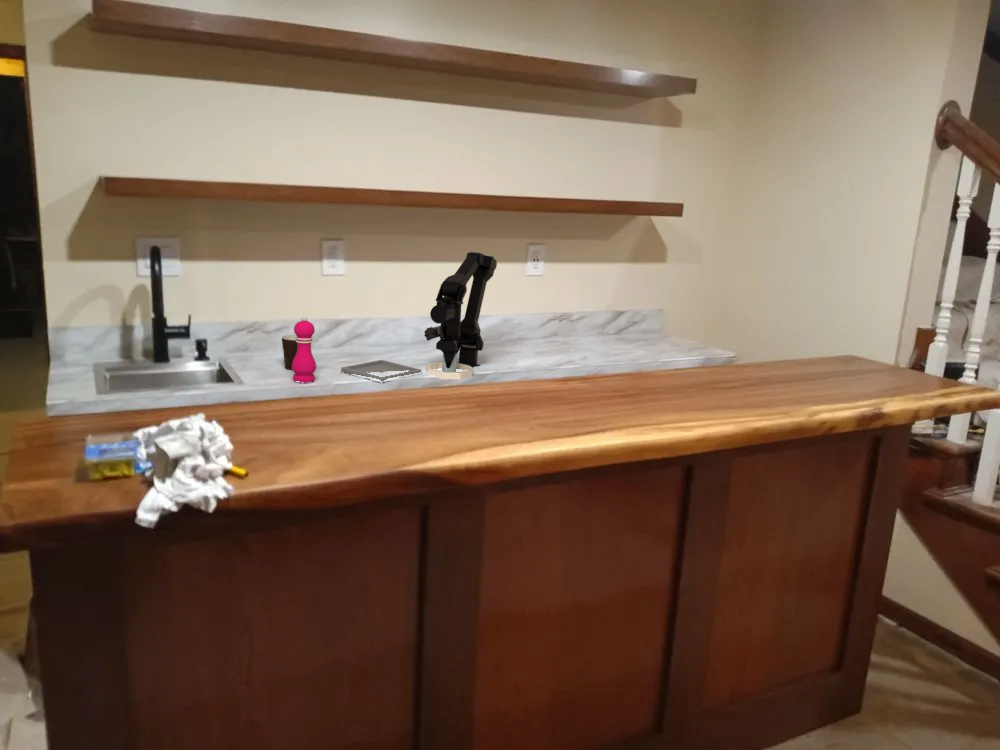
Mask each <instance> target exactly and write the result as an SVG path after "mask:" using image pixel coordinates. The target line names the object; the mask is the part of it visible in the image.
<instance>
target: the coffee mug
mask: <svg viewBox="0 0 1000 750" xmlns="http://www.w3.org/2000/svg"><path fill="white" fill-rule="evenodd" d="M296 337H297V335H296V334H289V335H288V334H287V335H282V336H281V344H282V346H281V347H282V353H283V361H284V369H286V370H288V371H293V370H292V362H293V360H294V358H295V356H296V353H297V342H296Z"/></svg>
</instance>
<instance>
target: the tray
mask: <svg viewBox="0 0 1000 750" xmlns="http://www.w3.org/2000/svg"><path fill="white" fill-rule="evenodd" d="M340 369H341V370H340V373H342V372H344V373H343V374H345V373H349V374H356V375H361V376H366V377H372V378H376V379H379V380H381V381H384V380H386V379H388V378H393V377H397V376H404V375H409V374H414V373H419V372H421V373H422V369H421V368H416V367H412V366H408V365H404V364H400V363H395V362H392V361H388V360H384V359H378V360H372V361H367V362H363V363H357V364H351V365H348V366H342V367H341V368H340ZM404 370H405V371H406V370H409V371H408V372H404V373H399V374H395V375H390V376H385V377H379V376H375V375H371V374H368V373H370V372H380V373H381V372H382V373H383V372H385V371H386V372H387V371H404ZM367 372H368V373H367ZM349 374H348V375H349Z"/></svg>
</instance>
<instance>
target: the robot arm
mask: <svg viewBox="0 0 1000 750" xmlns="http://www.w3.org/2000/svg"><path fill="white" fill-rule="evenodd" d="M497 264H498V262H497V260H496V259H495V258H494V256H493V255H486V254H484V253H482V252H475V251H469V252H467V254H466V256H465V259H464V260H463V262H462V263H461V264H460V266H459V267H458V268H457V270H456V271H455V273H454V274H451V275H448V276H447V277H446V278H444V280H443V282H442V283H441V284H440V286H439V287H440V288H439V290H438V292H437V295H436V299H435V302H436V305H434V306H433V307H432V308H431V310H430V313H429V315H430V319H431V320H432V321H433V323H435V324H437V325H436V326H434V327H433V326H430V327H427V328H426V329H425V330H424V331H423V332H424V337H425V338H426V341H427V342H429V341H431V340H433V339H437V338H439V340H438V341H437V342H435V343H436V344H435V349H436V350H439V351H441V352H442V355H443V354H444V358H445V363H446V368H450V366H451V364H452V362H453V359H454V357H455V354H456V353H457V354H458V353H459V354H458V363H460V364H465V365H469V366H471V367H472V368H475V366H476V367H479V366H481V363H478V355H479V351H483V349H484V341H483V338H482V336H481V332H482V330H481V328H480V325H479V319H480V314H481V309H482V305H483V300H484V296H485V291H486V288H487V283H488V281H490V280H491V279H492V278H493V277H494V274H495V270H496V269H497ZM471 277H472V284H471V286H470V287H471V288H470V292H469V297H468V300H467V304H466V311H465V314H464V318H463V319H462V305H464V298H465V296H466V293H467V291H468V289H467V288H468V287H467V284H468V283H469V281H470V279H471ZM461 319H462V320H461ZM438 324H440V325H438Z"/></svg>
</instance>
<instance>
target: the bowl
mask: <svg viewBox="0 0 1000 750" xmlns="http://www.w3.org/2000/svg"><path fill="white" fill-rule="evenodd" d="M442 365H443V361H437V362H432V363H427V364H426V367H425V368H426V369H425V371H427V372H426V374H427V373H428V374H431V375H434V376H436V377H437V379H440V380H465V379H468V378H472V377H473V372H474V371H473V367H472V368H471V366H469V365H465V364H460V363H459V362H456V369H462V370H467V371H463V372H441V371H437V370H433V369H438V368H442ZM436 377H435V378H436Z"/></svg>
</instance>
